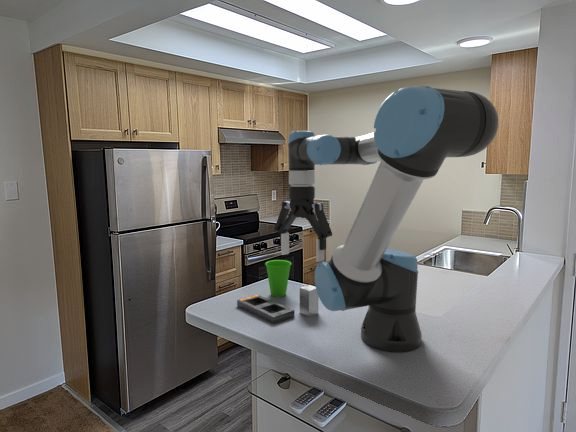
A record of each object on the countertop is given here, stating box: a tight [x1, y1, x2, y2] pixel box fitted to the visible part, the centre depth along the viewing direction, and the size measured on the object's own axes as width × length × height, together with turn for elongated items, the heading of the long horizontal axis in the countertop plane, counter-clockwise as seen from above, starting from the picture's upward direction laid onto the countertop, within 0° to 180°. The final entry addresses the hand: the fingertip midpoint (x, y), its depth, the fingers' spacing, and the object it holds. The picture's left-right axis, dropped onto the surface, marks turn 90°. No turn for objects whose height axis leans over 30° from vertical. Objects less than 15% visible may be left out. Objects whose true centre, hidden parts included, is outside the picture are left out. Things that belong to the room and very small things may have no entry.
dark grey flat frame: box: [236, 294, 295, 325], centre depth 120 cm, size 18×8×2 cm, turn 42°
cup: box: [264, 259, 293, 298], centre depth 134 cm, size 9×9×11 cm
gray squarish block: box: [299, 284, 320, 318], centre depth 118 cm, size 4×4×8 cm
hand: (302, 257), depth 116 cm, fingers open, 13 cm apart
